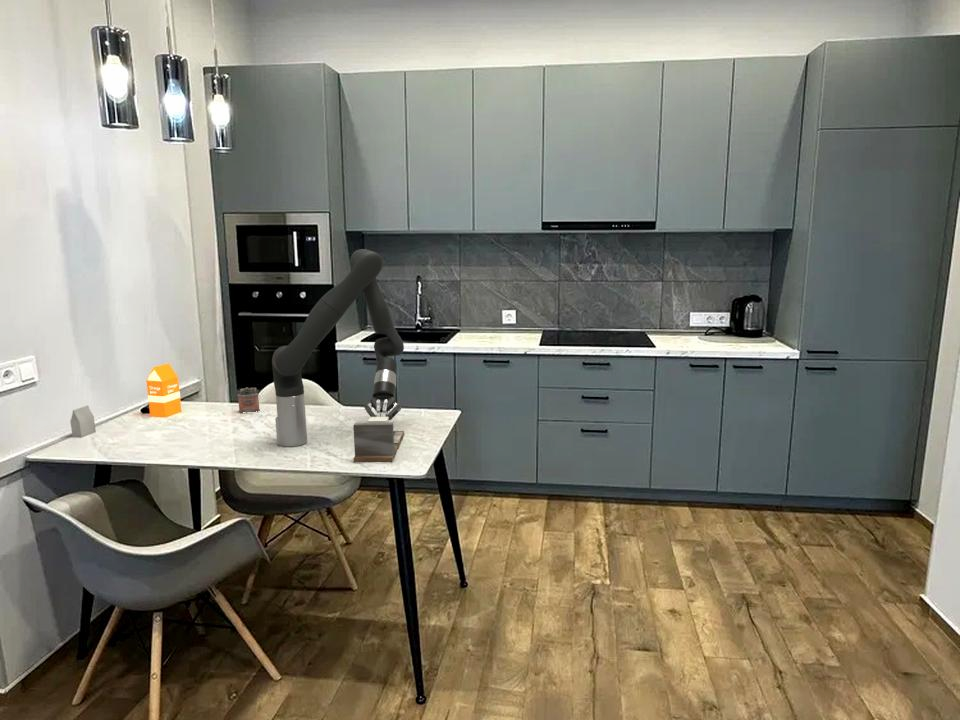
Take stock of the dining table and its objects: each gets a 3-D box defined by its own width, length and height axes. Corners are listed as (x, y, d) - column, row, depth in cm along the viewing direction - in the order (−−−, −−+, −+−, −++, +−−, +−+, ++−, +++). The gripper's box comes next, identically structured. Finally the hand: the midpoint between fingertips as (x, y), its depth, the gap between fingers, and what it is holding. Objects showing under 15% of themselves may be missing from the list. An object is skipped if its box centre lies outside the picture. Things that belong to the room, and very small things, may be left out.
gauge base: (370, 435, 231) (369, 403, 229) (404, 435, 230) (403, 403, 228) (353, 462, 203) (351, 427, 201) (392, 462, 203) (390, 426, 201)
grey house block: (95, 432, 239) (92, 405, 237) (81, 437, 233) (77, 410, 231) (87, 431, 240) (83, 405, 238) (72, 437, 233) (68, 410, 231)
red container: (238, 413, 261) (236, 389, 259) (239, 411, 264) (237, 387, 262) (259, 412, 263) (257, 388, 261) (260, 410, 266) (258, 386, 264)
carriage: (371, 442, 217) (370, 416, 215) (398, 442, 217) (397, 416, 215) (367, 449, 210) (366, 422, 208) (395, 449, 210) (394, 422, 208)
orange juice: (149, 416, 259) (144, 366, 255) (166, 410, 268) (161, 362, 264) (166, 417, 257) (160, 367, 253) (182, 411, 265) (177, 363, 261)
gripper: (363, 380, 223) (358, 425, 214) (402, 379, 223) (398, 424, 213) (367, 391, 230) (362, 435, 220) (405, 391, 229) (401, 435, 220)
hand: (380, 430), depth 217 cm, fingers closed
